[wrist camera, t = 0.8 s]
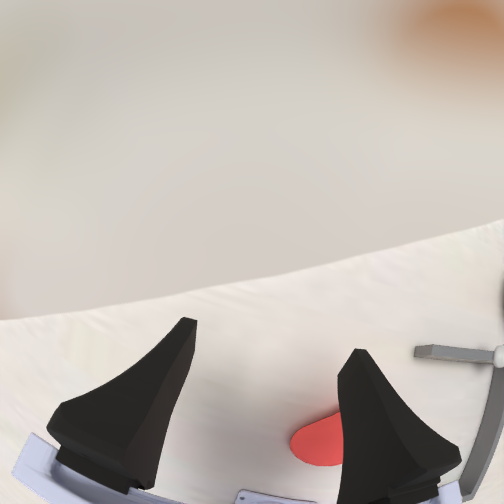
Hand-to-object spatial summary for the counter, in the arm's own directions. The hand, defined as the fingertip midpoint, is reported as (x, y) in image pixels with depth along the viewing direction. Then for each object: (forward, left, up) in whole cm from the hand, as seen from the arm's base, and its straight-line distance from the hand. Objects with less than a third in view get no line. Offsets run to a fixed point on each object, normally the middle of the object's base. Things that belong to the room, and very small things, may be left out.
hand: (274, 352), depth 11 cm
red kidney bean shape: (-6, -8, -13) cm, 17 cm away
